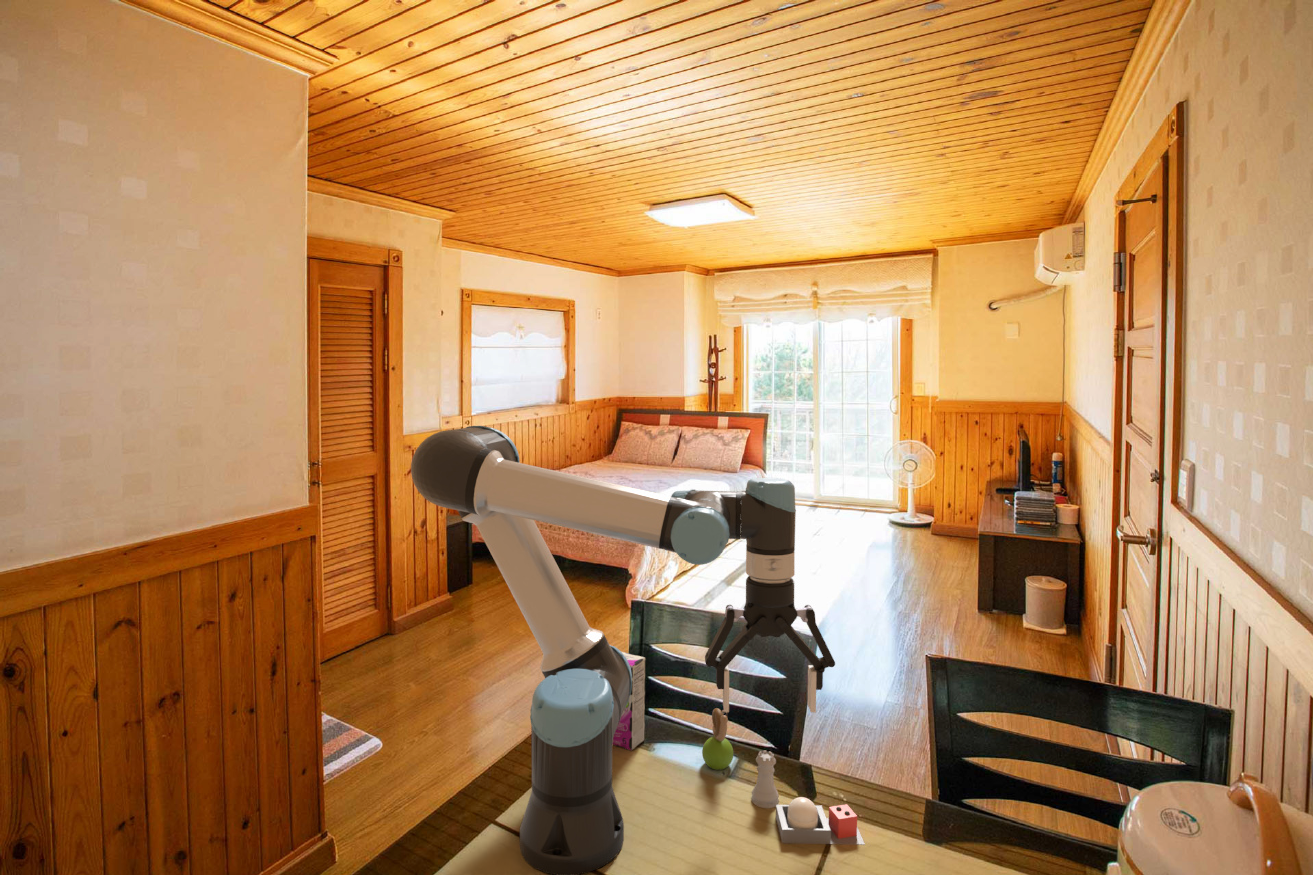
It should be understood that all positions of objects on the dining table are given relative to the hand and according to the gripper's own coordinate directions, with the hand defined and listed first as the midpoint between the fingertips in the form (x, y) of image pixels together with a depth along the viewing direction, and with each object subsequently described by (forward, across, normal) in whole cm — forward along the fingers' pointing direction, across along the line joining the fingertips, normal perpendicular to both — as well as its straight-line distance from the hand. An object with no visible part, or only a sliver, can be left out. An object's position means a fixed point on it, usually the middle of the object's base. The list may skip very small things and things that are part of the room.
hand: (768, 708), depth 109 cm
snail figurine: (+16, -7, +10) cm, 20 cm away
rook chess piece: (+16, 0, 0) cm, 16 cm away
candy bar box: (+16, -26, +19) cm, 36 cm away
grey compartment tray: (+16, +7, -7) cm, 19 cm away
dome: (+15, +4, -7) cm, 17 cm away
